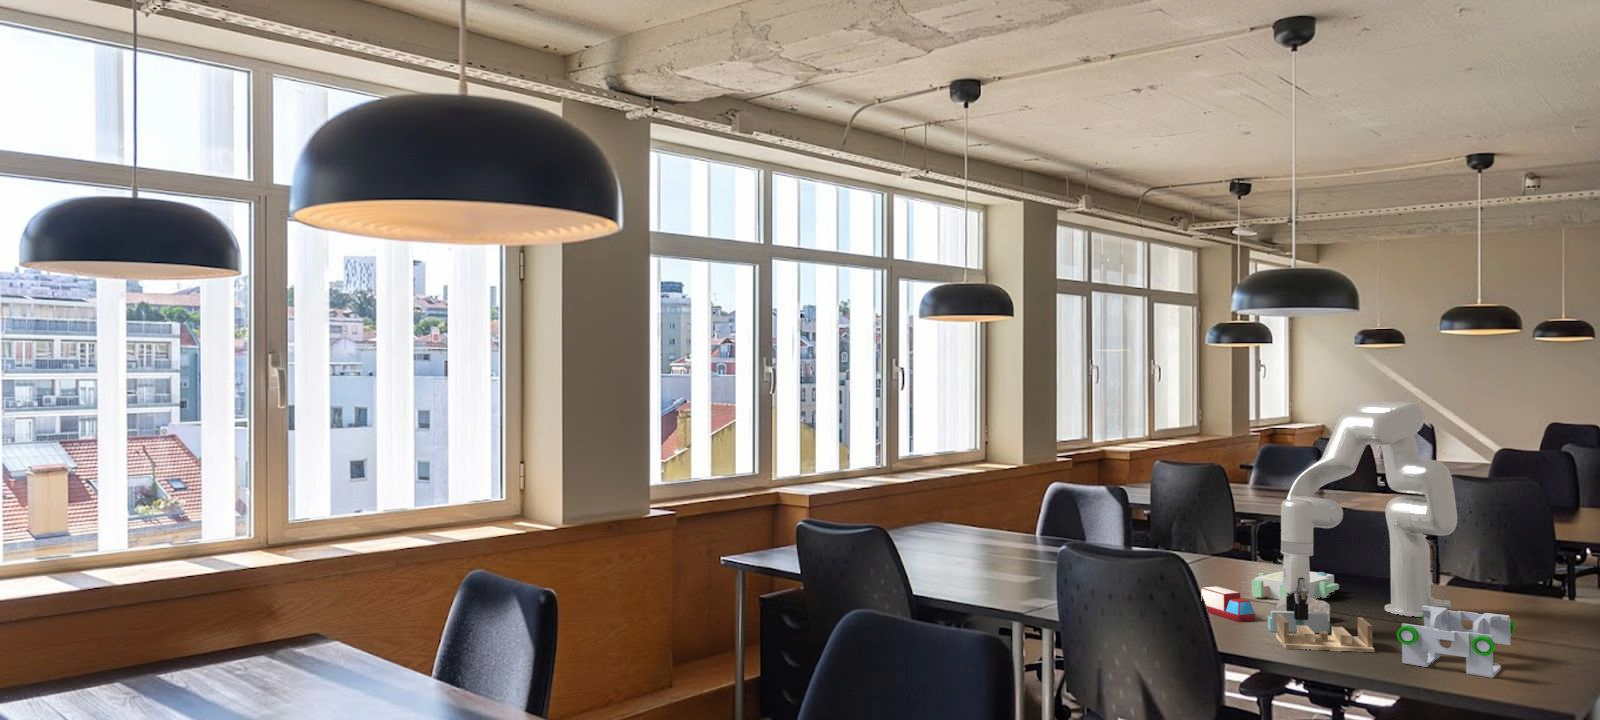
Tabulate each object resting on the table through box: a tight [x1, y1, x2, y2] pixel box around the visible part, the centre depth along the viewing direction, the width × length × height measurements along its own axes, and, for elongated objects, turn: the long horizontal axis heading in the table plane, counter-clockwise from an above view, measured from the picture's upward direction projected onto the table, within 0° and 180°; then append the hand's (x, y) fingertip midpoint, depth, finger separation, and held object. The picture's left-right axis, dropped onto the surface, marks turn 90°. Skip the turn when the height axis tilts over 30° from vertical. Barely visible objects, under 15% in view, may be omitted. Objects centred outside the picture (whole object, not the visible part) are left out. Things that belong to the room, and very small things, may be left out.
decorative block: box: [1251, 570, 1340, 601], centre depth 324 cm, size 26×6×20 cm
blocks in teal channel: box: [1267, 610, 1331, 634], centre depth 280 cm, size 14×4×5 cm, turn 77°
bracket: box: [1396, 605, 1516, 679], centre depth 251 cm, size 19×25×10 cm
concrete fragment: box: [1275, 595, 1331, 622], centre depth 295 cm, size 7×14×6 cm, turn 39°
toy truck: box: [1200, 585, 1256, 623], centre depth 299 cm, size 6×15×7 cm, turn 19°
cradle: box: [1275, 614, 1375, 653], centre depth 266 cm, size 19×12×6 cm, turn 77°
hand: (1297, 615), depth 280 cm, fingers open, 9 cm apart
